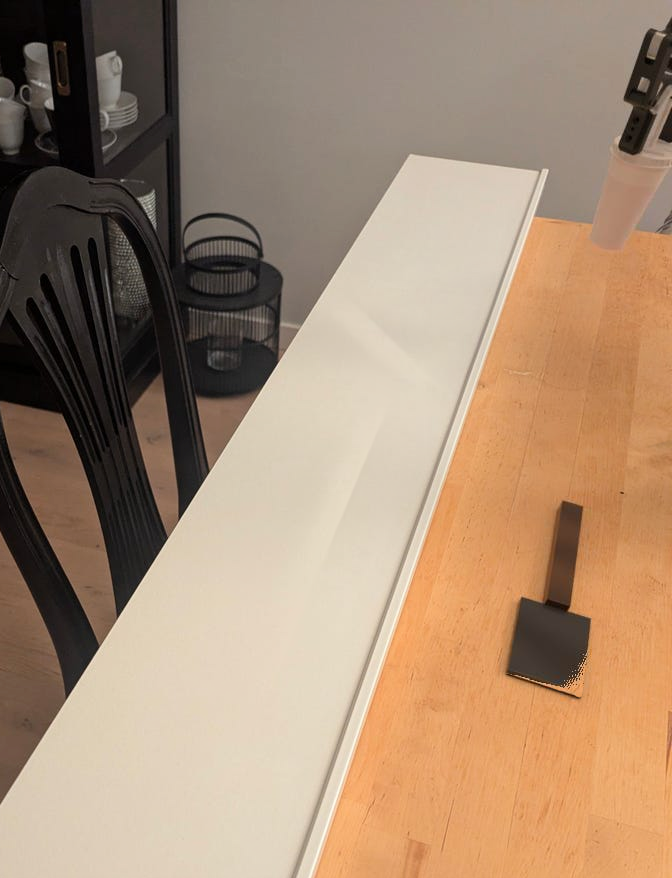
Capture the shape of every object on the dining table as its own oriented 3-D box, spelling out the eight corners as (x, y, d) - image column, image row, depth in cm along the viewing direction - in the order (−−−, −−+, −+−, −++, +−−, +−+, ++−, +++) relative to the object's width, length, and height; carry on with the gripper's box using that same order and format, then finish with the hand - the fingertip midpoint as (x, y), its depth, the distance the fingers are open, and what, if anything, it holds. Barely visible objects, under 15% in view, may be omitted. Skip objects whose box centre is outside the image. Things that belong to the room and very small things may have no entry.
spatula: (537, 503, 89) (541, 493, 88) (599, 521, 87) (604, 512, 87) (505, 674, 73) (510, 664, 72) (580, 698, 72) (586, 689, 71)
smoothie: (603, 259, 95) (665, 111, 84) (563, 232, 98) (618, 87, 88) (649, 252, 97) (716, 107, 86) (609, 225, 100) (668, 83, 90)
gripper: (735, -45, 73) (641, 174, 85) (814, -58, 80) (716, 146, 92) (652, -68, 76) (573, 145, 89) (735, -79, 83) (651, 121, 96)
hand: (647, 145), depth 90 cm, fingers closed on smoothie, 6 cm apart
